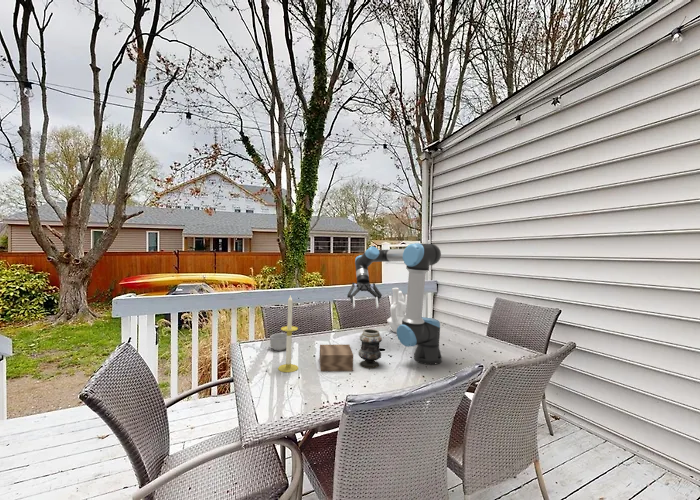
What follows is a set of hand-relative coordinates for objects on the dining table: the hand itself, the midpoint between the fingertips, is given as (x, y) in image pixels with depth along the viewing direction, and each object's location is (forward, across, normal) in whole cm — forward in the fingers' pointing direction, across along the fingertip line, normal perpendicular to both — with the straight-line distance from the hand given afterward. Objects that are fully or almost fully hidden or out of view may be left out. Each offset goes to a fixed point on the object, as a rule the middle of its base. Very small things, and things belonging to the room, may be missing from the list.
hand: (365, 307), depth 197 cm
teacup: (+12, +48, -26) cm, 56 cm away
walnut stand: (+30, +18, -7) cm, 36 cm away
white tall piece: (-10, -31, -48) cm, 58 cm away
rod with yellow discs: (+33, +42, -5) cm, 54 cm away
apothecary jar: (+30, 0, -7) cm, 31 cm away
